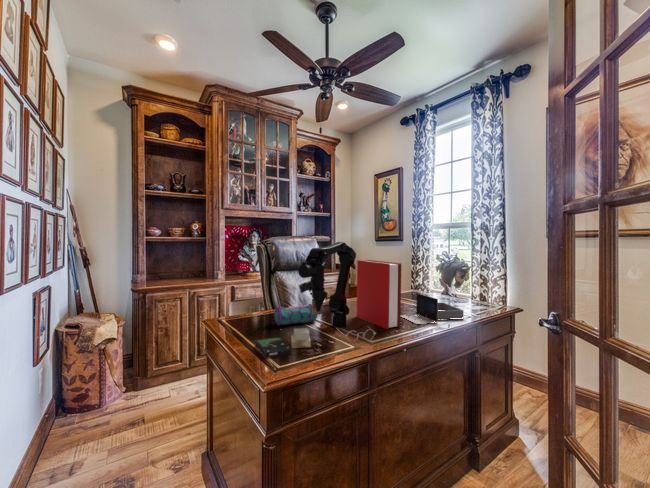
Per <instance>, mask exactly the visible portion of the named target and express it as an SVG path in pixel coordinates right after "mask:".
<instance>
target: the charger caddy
mask: <svg viewBox="0 0 650 488" xmlns="http://www.w3.org/2000/svg"><path fill="white" fill-rule="evenodd" d="M438 310H445V311H438V319H450V318H462V317H463V318H464V309H461V308H458V307H456V306H454V305H451V304H449V303H446V302H438Z"/></svg>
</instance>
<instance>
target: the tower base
mask: <svg viewBox="0 0 650 488" xmlns="http://www.w3.org/2000/svg"><path fill="white" fill-rule="evenodd" d="M290 338H291V340H290V341H291V348H292V349H295V348H296V349H297V348H311V345H312V343H311V337H310V336H309V340H297V341H294V334H292V335H291V336H290Z"/></svg>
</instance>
